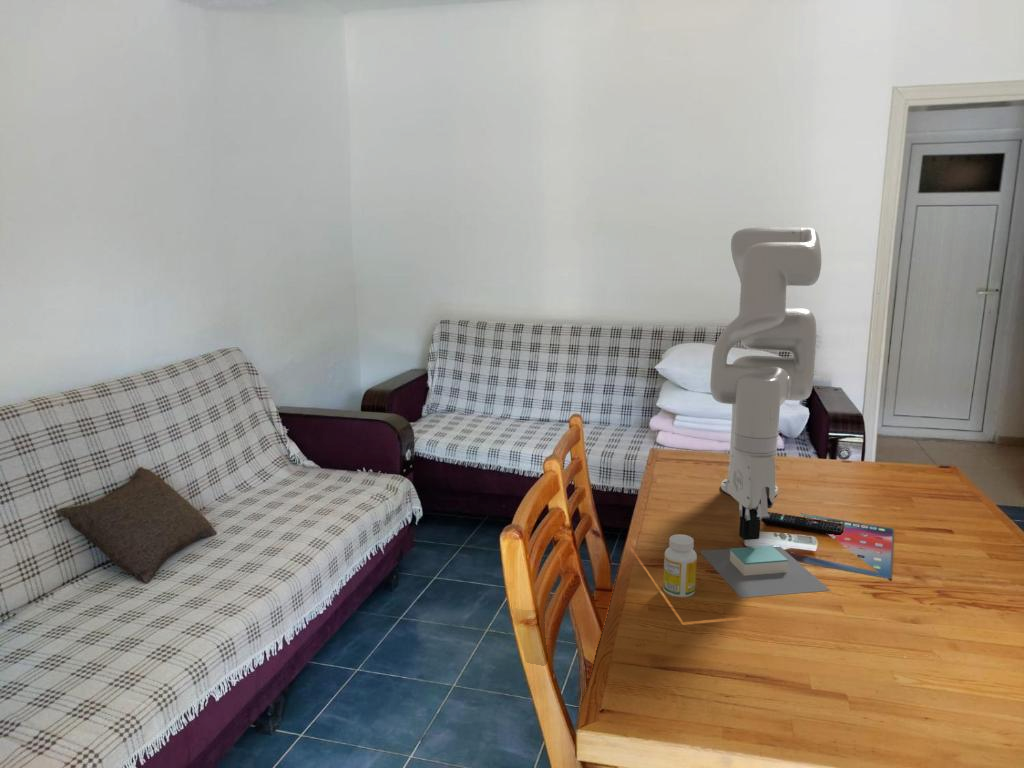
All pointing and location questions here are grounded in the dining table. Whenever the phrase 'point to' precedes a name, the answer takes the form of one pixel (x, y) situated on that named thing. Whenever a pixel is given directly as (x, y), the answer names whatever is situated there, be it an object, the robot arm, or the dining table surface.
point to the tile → (758, 560)
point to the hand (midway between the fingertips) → (749, 537)
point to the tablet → (860, 548)
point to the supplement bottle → (680, 566)
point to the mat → (764, 577)
